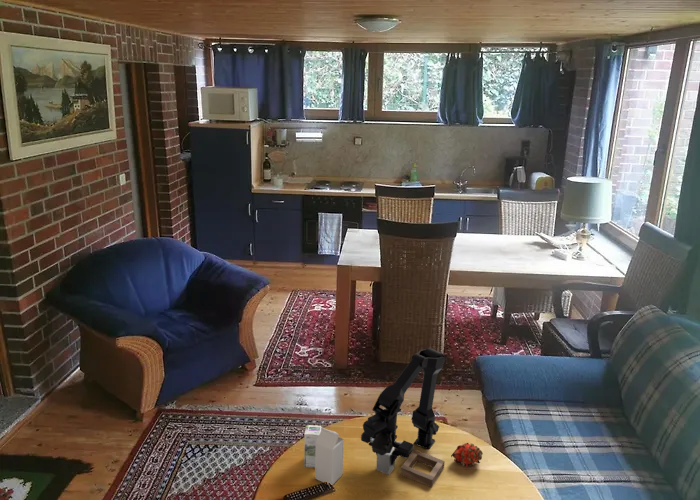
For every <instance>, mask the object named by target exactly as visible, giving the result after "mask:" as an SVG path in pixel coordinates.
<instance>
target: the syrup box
mask: <svg viewBox="0 0 700 500" xmlns="http://www.w3.org/2000/svg"><path fill="white" fill-rule="evenodd" d="M321 428H322V426H321V425H308V424H306V425H305V431H304V445H303V446H304V448H303V449H304V450H303V451H304V454H303V460H304V462H303V468H314V469H315V450H316V440H317V438H318V436H319V434H320V432H321Z"/></svg>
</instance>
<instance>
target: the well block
mask: <svg viewBox="0 0 700 500" xmlns="http://www.w3.org/2000/svg"><path fill="white" fill-rule="evenodd" d="M417 462H418V463H421V464H422V465H425V466H428V467H431V468H432V469H431V471H430V472H429V474H428V473H426V472H423V471H420V470H418V469H416V468H413V467H414V466H415V464H416V463H417ZM445 462H446V461H445V460H443V459H440V458H439V457H438V458H437V457H436V456H433V455H429V454H428V453H424V452H422V451H419V450H416V449H414V450H413V452H412V453H411V454H410V455H409V457H408V458H406V460H405V462H404V463H403V464H402V466H400V475H401V476H403V477H406V478H408V479H410V480H412V481H414V482H418V483H420V484H422V485H425V486H428V487H430V488H432V487H433V486H434V485H435V482H436V481H437V480H438V478H439V477H440V475H441V473H442V472H443V470H444V469H445Z"/></svg>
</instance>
